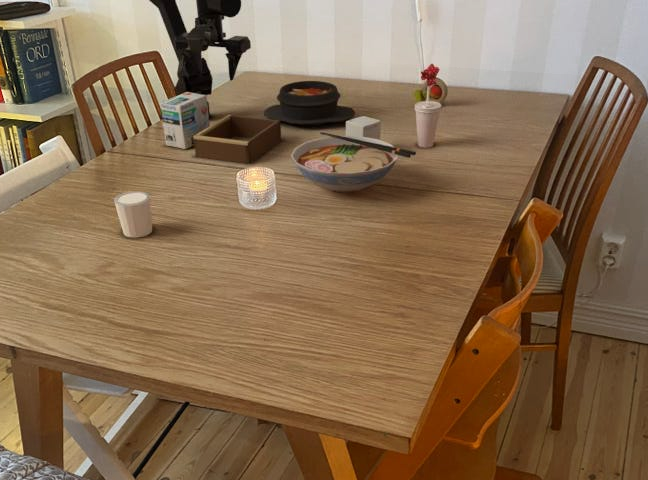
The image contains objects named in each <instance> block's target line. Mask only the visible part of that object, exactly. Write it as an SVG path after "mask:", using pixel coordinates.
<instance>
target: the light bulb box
mask: <svg viewBox="0 0 648 480" xmlns="http://www.w3.org/2000/svg"><path fill="white" fill-rule="evenodd" d="M207 101H208V95H207V96H206V95H201V94H195V93H190V92H185V93H183V94H181V95H178V96H176V95H175V96H173V97H170V98H168V99H166V100H163V101H161V102H159V105H160V111H161V118H162V126H163V133H164V138H165V139H164V140H165V146H168V147H173V148H177V149H183V150H186V149H189V148H192V147H193V146H195V145H194V138H193V136H194V135H196V134H198V133H199V132H201V131H203V130H204V129H206V128H207V127H209V126H211V125H210V118H209V114H208V104H207Z"/></svg>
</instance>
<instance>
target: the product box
mask: <svg viewBox="0 0 648 480" xmlns="http://www.w3.org/2000/svg"><path fill="white" fill-rule="evenodd" d="M381 127H382V120H380V119H377V118H372V117H369V116H366V115H362V116H358V117H355V118H351V119H348V120H346V121H345V136H361V137H367V138H373V139H379V140H381Z"/></svg>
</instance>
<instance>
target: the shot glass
mask: <svg viewBox="0 0 648 480" xmlns="http://www.w3.org/2000/svg"><path fill="white" fill-rule="evenodd" d="M113 200H114V202H113V203H114V206H115V209H116V212H117V215H118V219H119V223H120V226H121V229H122V233H123V235H124V236H125V237H126V238H127V237H128V238H131V239H133V238H142V237H146V236H148V235H149V234H151V233H152V232H153V221H152V219H153V217H152V203H151V195H150V194H149V193H148V192H144V191H127V192H124V193H120V194H119V195H117V196H115V197H114V199H113Z"/></svg>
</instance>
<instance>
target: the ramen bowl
mask: <svg viewBox="0 0 648 480" xmlns="http://www.w3.org/2000/svg"><path fill="white" fill-rule="evenodd" d="M319 134H320V135H323V136H324V135H325V137H320V138H317V139H313V140H310V141H309V140H308V141H305V142H303V143H302V144H300V145H298V146H296V147H294V149H293V151H292V153H291V155H290V156H291V158H292V160H293V163H294V164H295V166H296V167H297V169H298V170H299V171H300V173H301V174H302V176H303V177H304V178H305V179H306V180H307V181H309V182H310V183H312V184H314V185H316V186H318V187H320V188H322V189H326V190H330V191H333V192H336V193H354V192H356V191H359V190H363V189H366V188H368V187H373V186H374V185H376V184H378V183H379V182H380V181H381V180H383V179H384V178H385V177H386V176H387V175H388V174H389V173H390V171H392V169H393V168H394V166H395V164H396V162H397V160H398V157H399V156H400V157H404V158H408V159H410V158H411V157H412V156H416V154H417V153H416V152H417V151H414V150H410V149H405V148H399V147H395V146H394V144H391V143H389V142H386V141H384V140H381V139H380V140H379V139H373V138H367V137H361V136H346V135H337V134H334V133H333V134H332V133H329V132H323V131H322V132H319Z"/></svg>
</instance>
